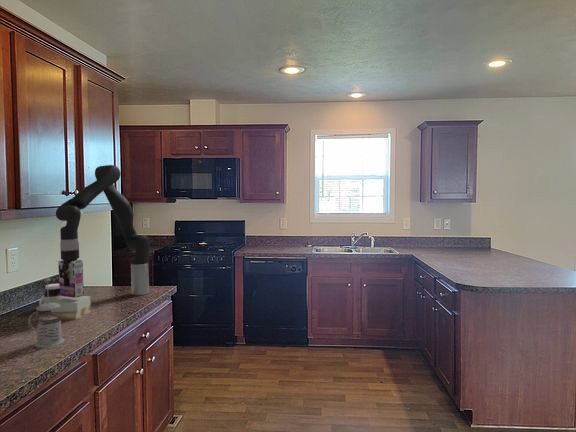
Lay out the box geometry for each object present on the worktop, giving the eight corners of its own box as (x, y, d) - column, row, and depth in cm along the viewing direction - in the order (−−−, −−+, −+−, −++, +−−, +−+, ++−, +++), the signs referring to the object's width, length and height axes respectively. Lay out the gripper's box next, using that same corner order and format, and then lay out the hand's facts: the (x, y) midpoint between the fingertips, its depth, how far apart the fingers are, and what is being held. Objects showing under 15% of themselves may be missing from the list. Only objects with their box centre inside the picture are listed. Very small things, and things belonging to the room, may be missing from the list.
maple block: (67, 312, 193) (67, 304, 193) (91, 312, 192) (91, 304, 192) (50, 320, 181) (50, 311, 181) (76, 320, 180) (75, 312, 180)
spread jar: (58, 310, 194) (57, 287, 193) (33, 312, 192) (32, 288, 192) (68, 304, 206) (67, 281, 205) (44, 305, 204) (43, 282, 203)
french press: (61, 345, 149) (58, 279, 147) (25, 349, 146) (22, 281, 144) (67, 336, 158) (65, 274, 157) (34, 340, 155) (31, 276, 153)
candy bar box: (84, 295, 186) (83, 260, 185) (74, 298, 182) (73, 262, 180) (69, 293, 191) (67, 259, 190) (59, 295, 187) (57, 260, 185)
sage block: (65, 304, 192) (65, 296, 192) (90, 304, 192) (90, 296, 192) (50, 311, 180) (50, 303, 180) (77, 311, 181) (77, 302, 180)
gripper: (71, 246, 192) (73, 281, 193) (51, 251, 178) (53, 288, 179) (86, 246, 192) (87, 281, 193) (67, 251, 177) (69, 288, 178)
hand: (71, 284), depth 186 cm, fingers closed on candy bar box, 6 cm apart
